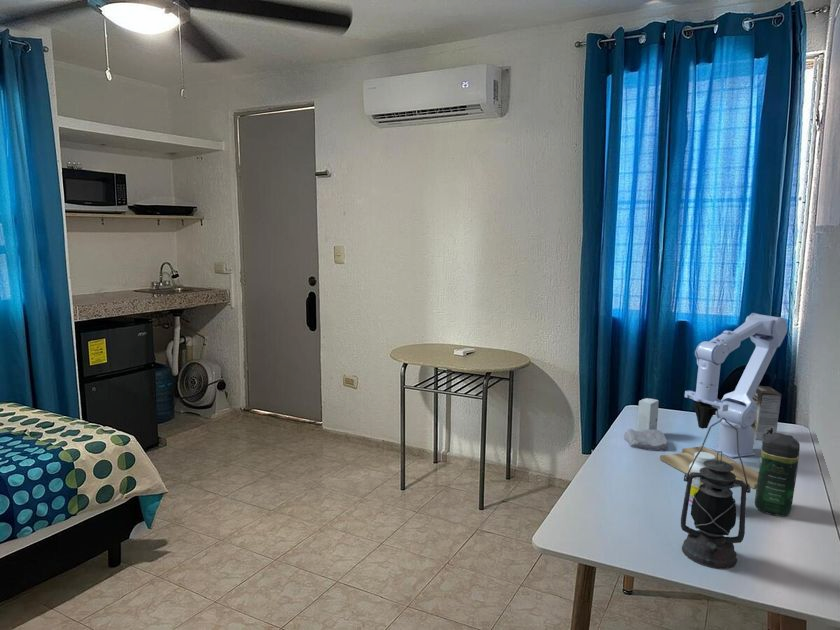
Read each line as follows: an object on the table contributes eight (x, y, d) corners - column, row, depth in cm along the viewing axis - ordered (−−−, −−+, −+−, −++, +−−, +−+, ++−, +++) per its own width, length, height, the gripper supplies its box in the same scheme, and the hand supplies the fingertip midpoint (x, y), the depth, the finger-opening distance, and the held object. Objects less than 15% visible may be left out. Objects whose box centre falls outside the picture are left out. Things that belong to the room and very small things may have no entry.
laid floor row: (702, 449, 186) (703, 446, 185) (776, 485, 161) (777, 480, 161) (682, 452, 183) (682, 448, 183) (754, 488, 159) (754, 484, 159)
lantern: (676, 559, 124) (690, 420, 119) (677, 535, 133) (690, 406, 129) (744, 575, 119) (761, 430, 114) (739, 549, 129) (755, 415, 124)
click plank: (686, 456, 180) (687, 452, 180) (741, 484, 161) (742, 480, 161) (659, 459, 177) (660, 455, 176) (712, 488, 158) (713, 483, 158)
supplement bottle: (713, 500, 151) (718, 452, 149) (716, 512, 145) (722, 462, 143) (684, 496, 153) (689, 448, 151) (686, 507, 147) (691, 457, 145)
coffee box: (744, 430, 205) (749, 384, 202) (764, 431, 204) (769, 385, 201) (755, 439, 196) (760, 392, 193) (776, 441, 195) (782, 393, 192)
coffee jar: (790, 521, 142) (800, 446, 139) (752, 511, 146) (761, 438, 143) (793, 505, 150) (802, 434, 147) (757, 496, 154) (765, 427, 151)
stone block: (669, 457, 184) (660, 439, 194) (671, 443, 183) (661, 426, 192) (630, 456, 185) (622, 438, 195) (632, 442, 184) (623, 425, 193)
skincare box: (648, 440, 193) (651, 403, 191) (635, 436, 196) (638, 400, 194) (656, 435, 197) (660, 400, 195) (643, 431, 200) (646, 397, 198)
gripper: (678, 377, 180) (674, 420, 182) (716, 390, 166) (711, 437, 168) (697, 376, 182) (692, 418, 184) (736, 388, 168) (730, 435, 170)
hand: (702, 427), depth 176 cm, fingers closed
